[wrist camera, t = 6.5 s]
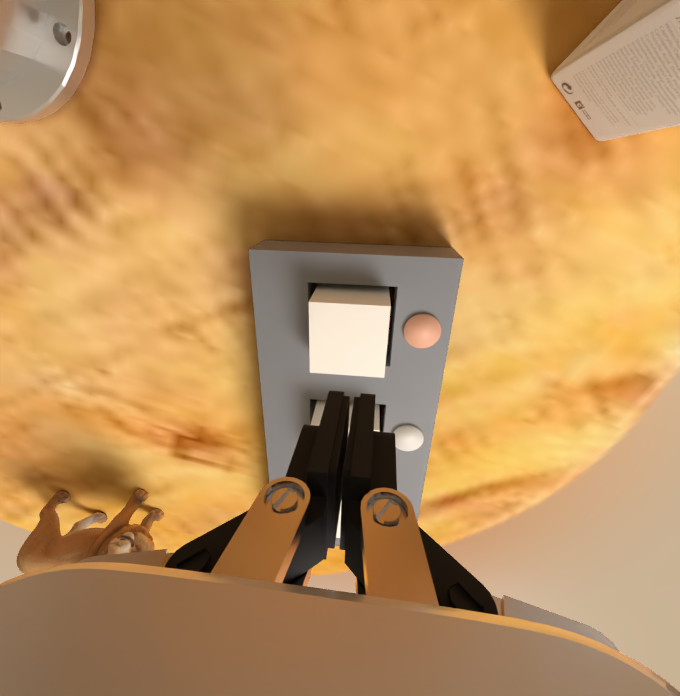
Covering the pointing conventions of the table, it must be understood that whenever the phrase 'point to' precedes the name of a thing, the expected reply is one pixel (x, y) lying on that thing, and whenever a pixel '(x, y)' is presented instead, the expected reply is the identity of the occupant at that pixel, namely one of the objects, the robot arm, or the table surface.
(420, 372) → the button board
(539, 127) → the table surface
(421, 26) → the table surface
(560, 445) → the table surface
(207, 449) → the table surface
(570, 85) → the skincare box
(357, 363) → the inner button
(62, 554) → the lion figurine
